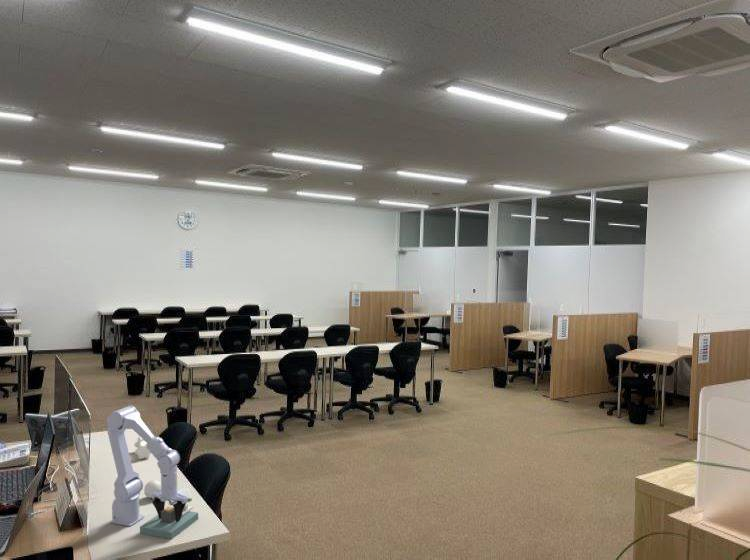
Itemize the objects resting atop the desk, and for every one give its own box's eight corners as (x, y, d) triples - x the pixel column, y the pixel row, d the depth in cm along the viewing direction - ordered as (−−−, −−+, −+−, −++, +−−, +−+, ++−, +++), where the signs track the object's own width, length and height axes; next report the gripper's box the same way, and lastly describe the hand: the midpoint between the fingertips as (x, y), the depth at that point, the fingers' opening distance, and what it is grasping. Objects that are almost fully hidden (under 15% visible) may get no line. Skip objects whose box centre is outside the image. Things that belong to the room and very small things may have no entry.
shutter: (168, 513, 211) (168, 506, 211) (179, 506, 217) (179, 499, 217) (182, 515, 209) (182, 508, 209) (192, 508, 215) (192, 501, 215)
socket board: (140, 533, 201) (139, 526, 201) (168, 513, 217) (168, 507, 216) (171, 539, 197) (171, 532, 197) (198, 518, 212) (198, 512, 212)
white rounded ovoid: (156, 502, 227) (155, 484, 227) (140, 500, 229) (140, 483, 228) (169, 492, 237) (169, 475, 237) (154, 490, 238) (154, 474, 238)
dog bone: (134, 451, 286) (134, 436, 286) (152, 449, 290) (151, 434, 290) (135, 461, 273) (134, 445, 273) (153, 458, 277) (153, 442, 276)
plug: (161, 528, 205) (160, 510, 205) (168, 523, 209) (167, 505, 209) (170, 530, 204) (169, 511, 204) (176, 525, 208) (176, 507, 207)
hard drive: (191, 498, 229) (187, 486, 240) (171, 502, 225) (167, 490, 236) (191, 501, 229) (187, 490, 240) (171, 505, 225) (167, 494, 236)
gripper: (146, 485, 205) (146, 520, 205) (178, 490, 200) (179, 526, 201) (158, 478, 211) (159, 512, 212) (190, 483, 207) (191, 517, 208)
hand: (169, 518), depth 207 cm, fingers open, 7 cm apart
